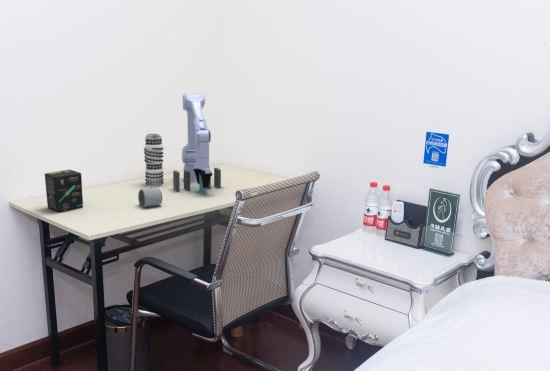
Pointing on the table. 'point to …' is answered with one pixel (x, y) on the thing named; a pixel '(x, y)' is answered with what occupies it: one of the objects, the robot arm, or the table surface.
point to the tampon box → (64, 190)
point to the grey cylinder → (149, 197)
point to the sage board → (194, 189)
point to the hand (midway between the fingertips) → (202, 185)
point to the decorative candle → (153, 161)
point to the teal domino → (201, 186)
